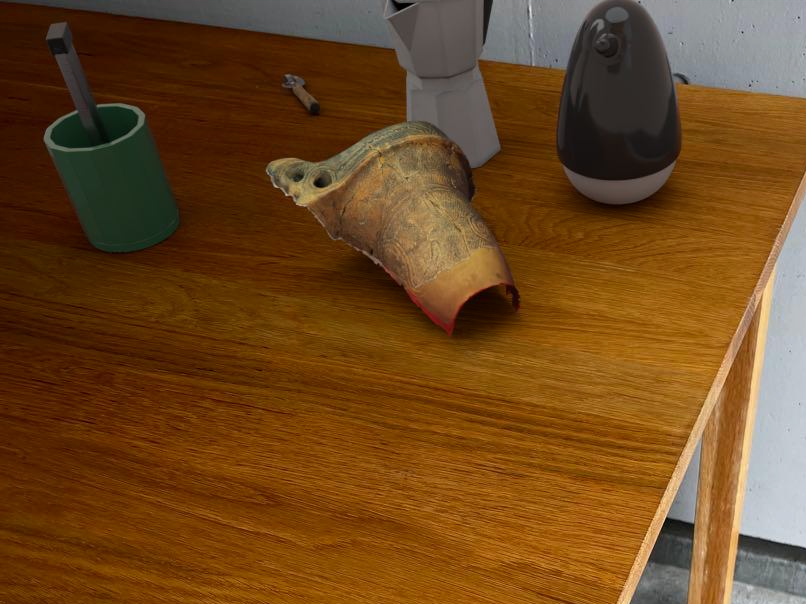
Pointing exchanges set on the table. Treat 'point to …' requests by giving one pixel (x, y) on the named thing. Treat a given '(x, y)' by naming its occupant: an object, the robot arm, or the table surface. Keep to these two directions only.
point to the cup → (115, 179)
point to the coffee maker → (446, 69)
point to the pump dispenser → (618, 106)
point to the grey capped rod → (77, 82)
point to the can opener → (301, 93)
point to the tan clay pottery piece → (405, 214)
